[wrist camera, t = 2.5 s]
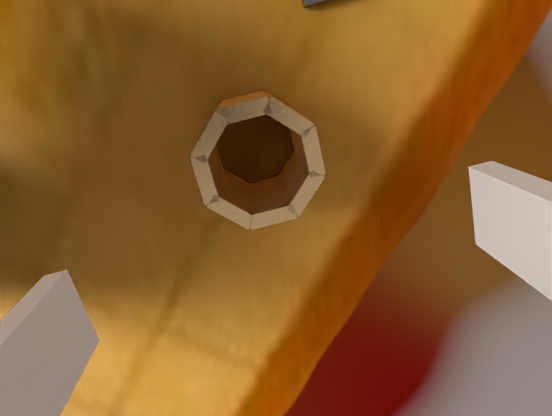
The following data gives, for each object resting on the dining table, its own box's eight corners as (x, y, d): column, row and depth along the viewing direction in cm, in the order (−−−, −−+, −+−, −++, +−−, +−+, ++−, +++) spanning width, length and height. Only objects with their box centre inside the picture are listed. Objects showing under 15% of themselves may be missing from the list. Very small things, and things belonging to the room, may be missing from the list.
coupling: (220, 202, 35) (215, 239, 28) (192, 107, 33) (177, 119, 25) (313, 179, 35) (333, 209, 28) (292, 82, 33) (307, 86, 25)
